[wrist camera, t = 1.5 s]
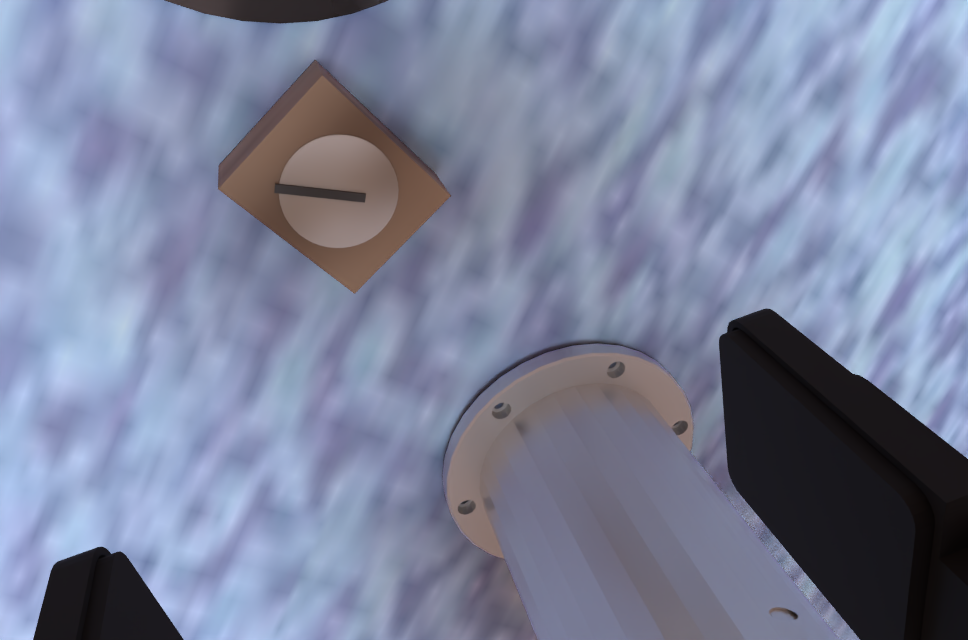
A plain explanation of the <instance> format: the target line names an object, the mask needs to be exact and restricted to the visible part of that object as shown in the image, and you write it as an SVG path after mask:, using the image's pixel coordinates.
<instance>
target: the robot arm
mask: <svg viewBox="0 0 968 640" xmlns="http://www.w3.org/2000/svg"><path fill="white" fill-rule="evenodd" d="M719 350H720V364H721V378H722V392H723V406H724V420H725V434H726V449H727V463H728V471H729V474H730V477H731V480H732V482H733V484H734V486H735V488H736V489H737V491H738V492H739V493H740V495H741V496H742V497H743V498H744V499H745V501H746V502H747V503H748V504H749V505H750V507H751V508H752V509H753V510H754V511H755V513H756V514H757V515H758V516H759V518H760V519H761V520H762V521H763V522H764V524H765V525H766V526H767V527H768V528H769V530H770V531H771V532H772V533H773V534H774V536H775V537H776V538H777V539H778V541H779V542H780V543H781V544H782V545H783V547H784V548H785V549H786V550H787V551H788V553H789V554H790V555H791V556H792V557H793V559H794V560H795V561H796V562H797V564H798V565H799V566H800V567H801V568H802V570H803V571H804V572H805V573H806V574H807V576H808V577H809V578H810V579H811V580H812V582H813V583H814V584H815V585H816V587H817V588H818V589H819V590H820V591H821V593H822V594H823V595H824V596H825V597H826V599H827V600H828V601H829V602H830V603H831V605H832V606H833V607H834V608H835V610H836V611H837V612H838V613H839V614H840V616H841V617H842V618H843V619H844V620H845V622H846V623H847V624H848V625H849V626H850V628H851V629H852V630H853V631H854V633H855V634H856V635H857V636H858V637H859V639H860V640H968V459H967V458H966V457H964V456H963V455H962V454H961V453H959V452H958V451H957V450H956V449H954V448H953V447H952V446H950V445H949V444H948V443H947V442H945V441H944V440H943V439H942V438H940V437H939V436H938V435H937V434H935V433H934V432H933V431H931V430H930V429H929V428H928V427H926V426H925V425H924V424H923V423H921V422H920V421H919V420H918V419H916V418H915V417H914V416H912V415H911V414H910V413H909V412H907V411H906V410H905V409H904V408H902V407H901V406H900V405H899V404H897V403H896V402H895V401H893V400H892V399H891V398H890V397H888V396H887V395H886V394H885V393H883V392H882V391H881V390H879V389H878V388H877V387H876V386H874V385H873V384H872V383H871V382H869V381H868V380H866V379H865V378H863V377H861V376H860V375H855V374H852V373H851V372H850V371H848V370H847V369H846V368H845V367H843V366H842V365H841V364H840V363H838V362H837V361H836V360H835V359H833V358H832V357H831V356H829V355H828V354H827V353H826V352H824V351H823V350H822V349H821V348H819V347H818V346H817V345H816V344H814V343H813V342H812V341H811V340H809V339H808V338H807V337H806V336H804V335H803V334H802V333H801V332H799V331H798V330H797V329H796V328H794V327H793V326H792V325H791V324H789V323H788V322H787V321H786V320H784V319H783V318H782V317H781V316H779V315H778V314H777V313H776V312H774V311H772V310H771V309H763V310H760V311H757V312H754V313H752V314H749V315H746V316H743V317H740V318H738V319H735V320H732V321H731V322H729V325H728V328H727V333H725V334H723V335H721V336H720V339H719ZM693 430H694V424H693V417H692V411H691V406H690V404H689V402H688V399H687V397H686V395H685V392H684V391H683V389H682V388H681V387H680V385H679V384H678V383H677V382H676V380H675V379H674V378H673V377H672V375H671V374H670V373H669V372H668V371H667V370H666V369H665V368H664V367H663V366H661V365H660V364H659V363H658V362H657V361H656V360H654V359H652V358H650V357H649V356H647V355H645V354H643V353H642V352H640V351H636V350H633V349H630V348H626V347H623V346H619V345H608V344H597V343H596V344H586V345H575V346H569V347H566V348H562V349H558V350H554V351H550V352H547V353H544V354H542V355H540V356H538V357H535V358H533V359H531V360H529V361H526V362H524V363H522V364H520V365H519V366H517V367H516V368H514V369H513V370H511V371H509V372H508V373H506V374H505V375H503V376H502V377H500V378H499V379H498V380H496V381H495V382H494V383H493V384H492V385H491V386H490V387H488V388H487V389H486V390H485V391H484V392H483V393H482V394H480V395H479V397H478V398H477V399H476V400H475V401H474V403H473V404H472V405H471V406H470V408H469V409H468V410H467V411H466V412H465V414H464V415H463V417H462V418H461V420H460V422H459V424H458V425H457V427H456V429H455V431H454V432H453V434H452V436H451V439H450V442H449V445H448V448H447V451H446V454H445V457H444V466H443V476H442V478H443V486H444V493H445V498H446V501H447V504H448V507H449V510H450V513H451V515H452V517H453V519H454V521H455V523H456V524H457V526H458V528H459V530H460V531H461V533H462V534H463V535H464V536H465V537H466V538H467V539H468V540H469V541H470V542H471V543H472V544H473V545H475V546H477V547H478V548H480V549H482V550H483V551H485V552H487V553H488V554H490V555H493V556H496V557H499V558H502V559H505V561H506V563H507V566H508V568H509V571H510V573H511V576H512V578H513V580H514V583H515V585H516V588H517V590H518V593H519V595H520V598H521V600H522V603H523V605H524V608H525V610H526V613H527V615H528V617H529V620H530V622H531V625H532V627H533V630H534V632H535V635H536V637H537V640H840V639H839V638H838V637H837V635H836V634H835V633H834V632H833V630H832V629H831V628H830V627H829V625H828V624H827V623H826V622H825V620H824V619H823V618H822V617H821V615H820V614H819V613H818V612H817V610H816V609H815V608H814V607H813V605H812V604H811V603H810V602H809V600H808V599H807V598H806V597H805V595H804V594H803V593H802V591H801V590H800V589H799V588H798V586H797V585H796V584H795V583H794V581H793V580H792V579H791V578H790V576H789V575H788V574H787V573H786V571H785V570H784V569H783V568H782V566H781V565H780V564H779V563H778V561H777V560H776V559H775V558H774V556H773V555H772V554H771V553H770V551H769V550H768V549H767V548H766V546H765V545H764V544H763V543H762V541H761V540H760V539H759V538H758V536H757V535H756V534H755V533H754V531H753V530H752V529H751V528H750V526H749V525H748V524H747V523H746V521H745V520H744V519H743V518H742V516H741V515H740V514H739V513H738V511H737V510H736V509H735V507H734V506H733V505H732V504H731V502H730V501H729V500H728V499H727V497H726V496H725V495H724V494H723V492H722V491H721V490H720V489H719V487H718V486H717V485H716V484H715V482H714V481H713V480H712V479H711V477H710V476H709V475H708V474H707V472H706V471H705V470H704V469H703V467H702V466H701V465H700V464H699V462H698V461H697V460H696V459H695V457H694V456H693V455H692V454H691V452H690V451H691V448H692V442H693ZM33 640H183V638H182V637H181V635H180V634H179V632H178V631H177V629H176V628H175V626H174V625H173V623H172V622H171V621H170V619H169V618H168V616H167V615H166V613H165V612H164V610H163V609H162V607H161V606H160V604H159V603H158V602H157V600H156V599H155V597H154V596H153V594H152V593H151V591H150V590H149V588H148V587H147V585H146V584H145V582H144V581H143V580H142V578H141V577H140V575H139V574H138V572H137V571H136V569H135V568H134V566H133V565H132V563H131V562H130V561H129V559H128V558H127V556H126V555H125V554H124V553H122V552H116V553H113V554H111V553H110V552H109V551H108V550H107V549H106V548H104V547H97V548H95V549H92V550H89V551H86V552H83V553H81V554H78V555H75V556H72V557H69V558H67V559H64V560H61V561H58V562H57V563H56V564H55V565H54V566H53V568H52V570H51V573H50V577H49V581H48V585H47V589H46V592H45V596H44V600H43V604H42V608H41V612H40V615H39V619H38V623H37V627H36V631H35V635H34V639H33Z"/></svg>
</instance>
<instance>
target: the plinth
mask: <svg viewBox="0 0 968 640" xmlns="http://www.w3.org/2000/svg"><path fill="white" fill-rule="evenodd" d="M165 1H168V2H171V3H174V4H177V5H180V6H183V7H186V8H190V9H193V10H196V11H199V12H202V13H205V14H210V15H216V16H221V17H226V18H231V19H236V20H241V21H252V22H268V23H293V22H308V21H319V20H324V19H329V18H333V17H338V16H343V15H348V14H352V13H355V12H358V11H361V10H364V9H366V8H369V7H372V6H375V5H377V4H380V3H383V2H386V1H388V0H165Z"/></svg>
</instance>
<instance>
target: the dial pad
mask: <svg viewBox="0 0 968 640" xmlns="http://www.w3.org/2000/svg"><path fill="white" fill-rule="evenodd" d="M218 189H219V190H220V191H221V192H223V193H224V194H225V195H227V196H228V197H229V198H230V199H232V200H233V201H234V202H236V203H237V204H238V205H240V206H241V207H242V208H244V209H245V210H246V211H247V212H249V213H250V214H251V215H253V216H254V217H255V218H257V219H258V220H259V221H260V222H262V223H263V224H264V225H266V226H267V227H268V228H270V229H271V230H272V231H274V232H275V233H276V234H277V235H279V236H280V237H281V238H283V239H284V240H285V241H287V242H288V243H289V244H290V245H292V246H293V247H294V248H296V249H297V250H298V251H300V252H301V253H302V254H303V255H305V256H306V257H307V258H309V259H310V260H311V261H313V262H314V263H315V264H317V265H318V266H319V267H320V268H322V269H323V270H324V271H326V272H327V273H328V274H330V275H331V276H332V277H333V278H335V279H336V280H337V281H339V282H340V283H341V284H343V285H344V286H345V287H347V288H348V289H349V290H350V291H352V292H353V293H354V294H355V293H356V292H357V291H358V290H359V289H360V288H361V287H362V286H363V285H364V284H365V283H366V282H367V280H368V279H369V278H370V277H371V276H372V275H373V274H374V273H375V272H376V271H377V270H378V269H379V268H380V267H381V266H382V265H383V264H384V263H385V262H386V261H387V260H388V259H389V258H390V257H391V256H392V255H393V254H394V253H395V252H396V251H397V250H398V249H399V248H400V247H401V246H402V245H403V244H404V243H405V242H406V241H407V240H408V239H409V238H410V237H411V236H412V235H413V234H414V233H415V232H416V231H417V230H418V229H419V228H420V227H421V226H422V225H423V224H424V223H425V222H426V221H427V220H428V219H429V218H430V217H431V216H432V215H433V214H434V212H435V211H436V210H437V209H438V208H439V207H440V206H441V205H442V204H443V203H444V202H445V201H446V200H447V199H448V198H449V197H450V196H451V195H450V194H449V192H448V191H447V189H446V188H445V187H444V185H443V184H442V182H441V181H440V179H439V178H438V176H437V175H436V174H435V173H434V172H433V171H432V170H431V169H430V168H429V167H428V166H427V165H426V164H425V163H424V162H423V161H422V160H421V159H419V158H418V157H417V156H416V155H415V154H414V153H413V152H412V151H411V150H410V149H409V148H408V147H407V146H406V145H405V144H404V143H403V142H401V141H400V140H399V139H398V138H397V137H396V136H395V135H394V134H393V133H392V132H391V131H390V130H389V129H388V128H387V127H386V126H385V125H383V124H382V123H381V122H380V121H379V120H378V119H377V118H376V117H375V116H374V115H373V114H372V113H371V112H370V111H369V110H368V109H367V108H365V107H364V106H363V105H362V104H361V103H360V102H359V101H358V100H357V99H356V98H355V97H354V96H353V95H352V94H351V93H350V92H349V91H348V90H346V89H345V88H344V87H343V86H342V85H341V84H340V83H339V82H338V81H337V80H336V79H335V78H334V77H333V76H332V75H331V74H330V73H328V72H327V71H326V70H325V69H324V68H323V67H322V66H321V65H320V64H319V63H318V62H317V61H316V60H315V61H314V62H313V63H312V64H311V65H310V66H309V67H308V68H307V69H306V70H305V72H304V73H303V74H302V75H301V76H300V77H299V78H298V79H297V80H296V81H295V83H294V84H293V85H292V86H291V87H290V88H289V89H288V90H287V91H286V92H285V93H284V95H283V96H282V97H281V98H280V99H279V100H278V101H277V102H276V103H275V104H274V106H273V107H272V108H271V109H270V110H269V111H268V112H267V113H266V114H265V115H264V117H263V118H262V119H261V120H260V121H259V122H258V123H257V124H256V125H255V126H254V128H253V129H252V130H251V131H250V132H249V133H248V134H247V135H246V136H245V137H244V138H243V140H242V141H241V142H240V143H239V144H238V145H237V146H236V147H235V148H234V149H233V151H232V152H231V153H230V154H229V155H228V156H227V157H226V158H225V159H224V160H223V162H222V163H221V164H220V165H219V173H218Z"/></svg>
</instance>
